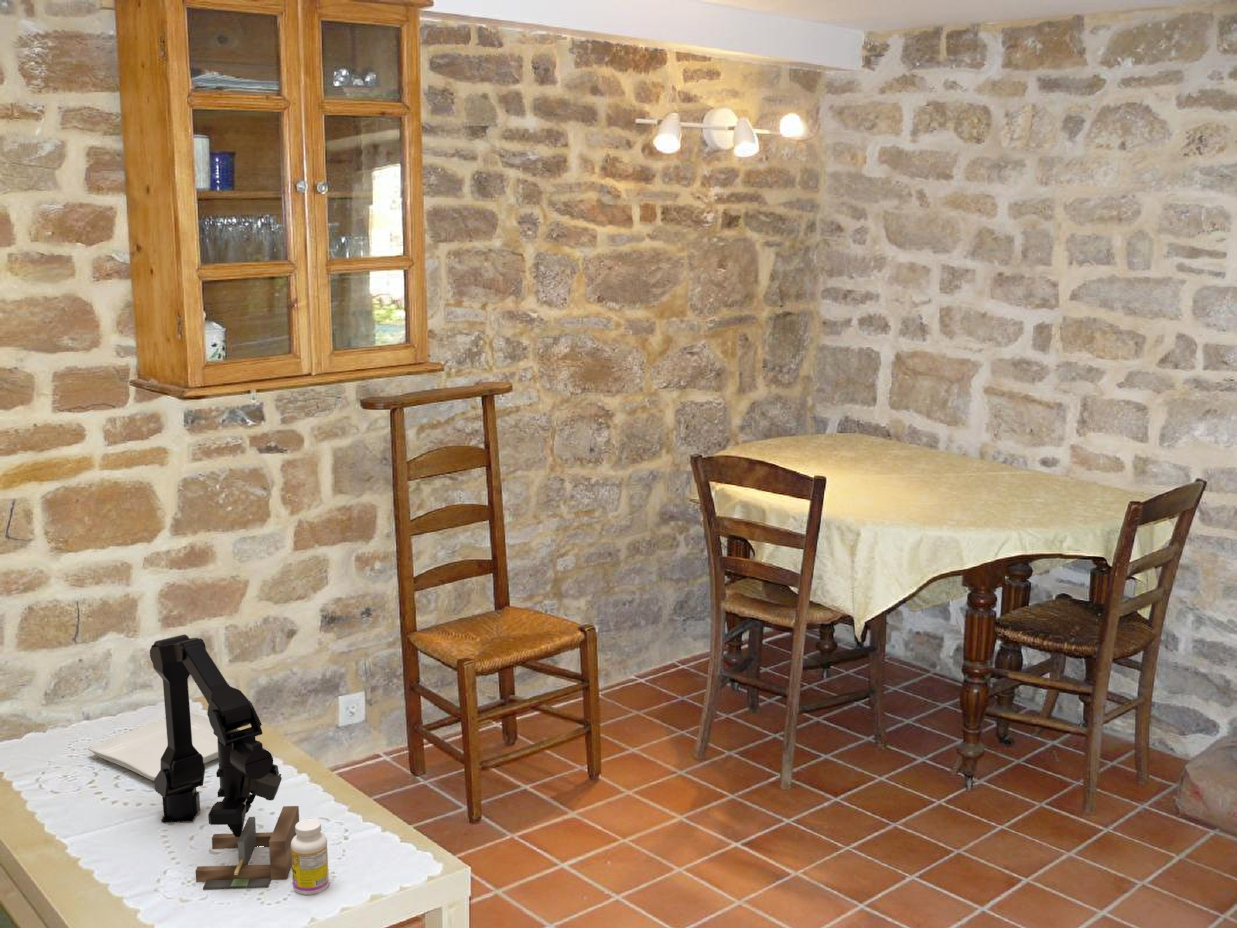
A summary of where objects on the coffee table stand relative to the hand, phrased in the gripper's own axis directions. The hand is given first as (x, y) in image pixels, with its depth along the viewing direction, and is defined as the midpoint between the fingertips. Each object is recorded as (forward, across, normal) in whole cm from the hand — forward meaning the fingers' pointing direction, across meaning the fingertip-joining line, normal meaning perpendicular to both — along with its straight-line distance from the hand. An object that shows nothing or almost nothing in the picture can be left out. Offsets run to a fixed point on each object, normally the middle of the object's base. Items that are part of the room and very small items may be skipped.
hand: (238, 835), depth 241 cm
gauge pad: (+5, -2, -2) cm, 5 cm away
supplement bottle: (+6, -10, -16) cm, 19 cm away
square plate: (+6, +51, +27) cm, 58 cm away
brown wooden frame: (+6, -1, -2) cm, 6 cm away
